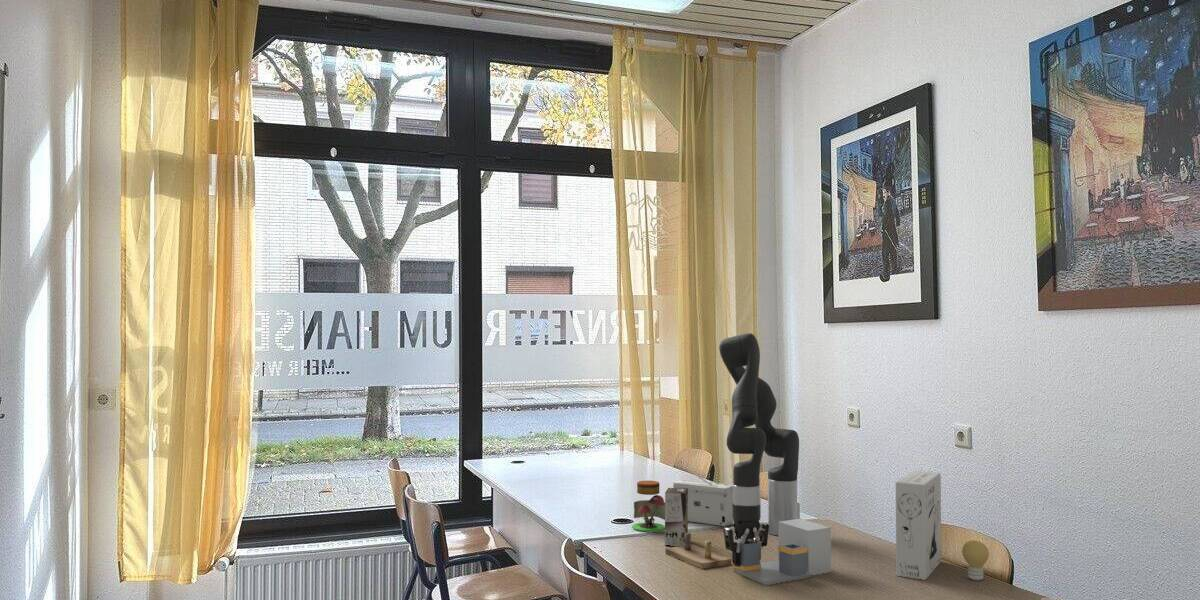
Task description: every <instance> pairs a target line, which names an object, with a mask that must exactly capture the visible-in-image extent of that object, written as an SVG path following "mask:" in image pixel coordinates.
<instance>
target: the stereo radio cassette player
mask: <svg viewBox="0 0 1200 600" xmlns="http://www.w3.org/2000/svg"><path fill="white" fill-rule="evenodd" d="M676 464H679V465H680V466H682V467H683V468H684V469H686V470H687V471H688V472H690V473H692V474H693V475H695V476H696V477H697V478H699V479H700V480H693V479H683V478H682V479H678V480H675V481H673V482H672V488H688V522H693V523H700V524H706V525H712V526H713V525H714V526H720V527H724V528H725V527H727V526H729V525H733V524H734V520H733V517H732V494H733V485H734V484H729V483H719V482H712V481H711V482H710V481H707V480H706V479H704V478H703V477H702V476H700V475H698V474H697V473H695V472H694V471H692V470H691V469H690V468H687V467H686V466H685V465H683V464H681V463H680V462H679V461H676Z"/></svg>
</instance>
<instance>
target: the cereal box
mask: <svg viewBox="0 0 1200 600" xmlns="http://www.w3.org/2000/svg"><path fill="white" fill-rule="evenodd" d="M941 481H942V476H941V473H940V472H934V471H933V472H931V471H922V470H913V471H911V472H910V473H907V475H905V476H903V477H902V478H899V479H898V480H897V481H895V556H896V557H895V570H896V571H895V574H896V576H897V577H901V576H902V578H907V577H908V579H914V578H915V579H914V580H920V579H921V581H926V580H927V578H929V576H930V575H931V574H932V573H933V572H934V570H935V569H936V568H937V567H938V566H939V565H940V563H941V562H942V493H941V491H942V484H941V483H942V482H941Z"/></svg>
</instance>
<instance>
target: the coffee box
mask: <svg viewBox="0 0 1200 600" xmlns="http://www.w3.org/2000/svg"><path fill="white" fill-rule="evenodd" d="M664 493H665V494H664V502H665V520H664V546H666V545H670V546H669V547H679V546H684V534H685V533H689V523H688V522H689V521H688V488H674V487H667V489H666V491H665V492H664Z"/></svg>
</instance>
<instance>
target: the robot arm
mask: <svg viewBox="0 0 1200 600" xmlns="http://www.w3.org/2000/svg"><path fill="white" fill-rule="evenodd" d="M718 349H719V355H720V358H721V360H722V362H723V363H724V366H725V368H726V369H727V371H728V373H729V374H730V376H731V378H732V380H733V381H734V382H735V385H736V386H735V388H734V390H733V392H732V396H731V422H730V426H729V430H728V432H727V437H726V447H727V449H728V451H729V452H730V453H732V454H737V455H739V454H740V455H742V454H743V455H752V456H751V457H750V458H749V459H748V460H746V461H740V462H737V463H735V464H734V465H733V471H732V472H733V474H732V475H733V476H732V477H733V480H732V481H733V484H732V485H733V494H732V517H733V520H734V522H733V523H732V526H730V527H727V526H725V527H724V528H723V537H724V538H723V539H724V544H725V545H724V546H725V549H726V550H728V551H731V552H732V553H731V555H732V557H731V564H732V563H733V564H734V566H737V567H739V566H740V565H741V553H740V550H741V547H742V545H744V542H745V541H747V540H752V541H754V542H758V543H760V561H761V559H762V552H761V551H762V549H763V547H767V546H768V539H769V534H770V535H773V536H778V522H780V521H787V520H794V519H801V510H800V509H801V508H800V507H801V504H800V503H799V502H798V474H799V458H800V457H799V456H800V439H799V434H798V432H797V431H796V430H794V429H789V428H788V429H786V428H777V427H776V428H775V427H774V426H773V425H772V422H771V421H772V420H773V417H774V415H775V412H776V409H777V400H776V397H775V395H774V392H773V390H772V388H771V386H770V385H769V384H768V382H766V381H765V380H763V379H762V378H761V377H759V372H760V364H761V363H760V362H761V351H760V344H759V342H758V340H757V337H756V336H755V335H754V334H753V333H751V332H750V333H743V334H739V335H734V336H731V337H726V338H723V339H722V340H720V343H719V346H718ZM751 426H755V427H751ZM764 453H765V454H766V455H767V456H768V457H773V458H781V459H783V463H782V464H781V465H778V466H777V467H776V466H775V467H772V468H770V469H769V470H768V471H767V523H765V522H762V521H761V515H762V514H761V512H762V510H761V498H762V497H761V489H760V481H761V480H760V475H761V474H760V473H761V472H760V470H761V463H762V459H763V455H764ZM760 521H761V522H760ZM736 546H737V547H736Z"/></svg>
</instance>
